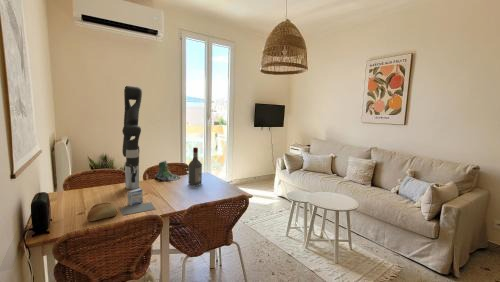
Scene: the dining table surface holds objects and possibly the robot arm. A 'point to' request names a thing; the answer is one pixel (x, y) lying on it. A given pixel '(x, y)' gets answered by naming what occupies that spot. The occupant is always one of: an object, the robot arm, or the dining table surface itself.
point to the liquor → (195, 169)
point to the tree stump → (165, 173)
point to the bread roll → (101, 211)
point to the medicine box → (134, 197)
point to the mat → (137, 208)
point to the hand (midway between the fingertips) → (133, 182)
